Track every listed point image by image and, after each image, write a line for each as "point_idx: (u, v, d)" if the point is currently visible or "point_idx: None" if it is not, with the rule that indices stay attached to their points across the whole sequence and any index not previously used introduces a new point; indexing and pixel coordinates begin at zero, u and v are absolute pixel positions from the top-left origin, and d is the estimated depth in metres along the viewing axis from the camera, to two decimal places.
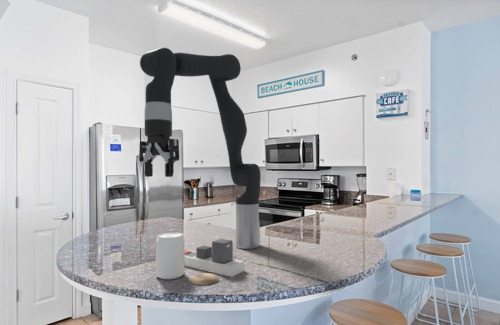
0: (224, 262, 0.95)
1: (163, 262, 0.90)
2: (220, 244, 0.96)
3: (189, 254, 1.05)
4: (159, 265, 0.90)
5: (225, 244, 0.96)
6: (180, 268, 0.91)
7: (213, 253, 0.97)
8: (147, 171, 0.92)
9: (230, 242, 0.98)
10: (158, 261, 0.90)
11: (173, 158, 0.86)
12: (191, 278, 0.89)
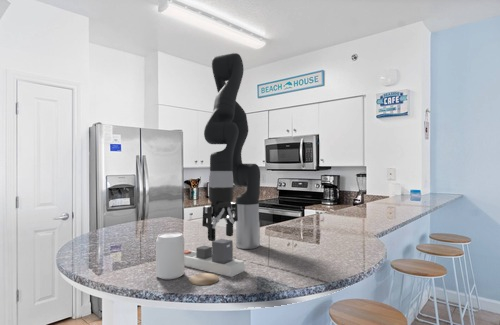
0: (224, 262, 0.95)
1: (163, 262, 0.90)
2: (220, 244, 0.96)
3: (189, 254, 1.05)
4: (159, 265, 0.90)
5: (225, 244, 0.96)
6: (180, 268, 0.91)
7: (213, 253, 0.97)
8: None
9: (230, 242, 0.98)
10: (158, 261, 0.90)
11: None
12: (191, 278, 0.89)
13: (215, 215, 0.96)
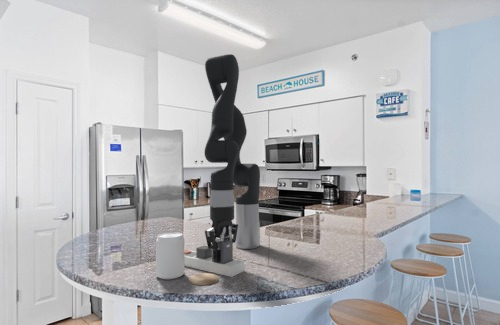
0: (224, 262, 0.95)
1: (163, 262, 0.90)
2: None
3: (189, 254, 1.05)
4: (159, 265, 0.90)
5: (225, 244, 0.96)
6: (180, 268, 0.91)
7: None
8: None
9: (230, 242, 0.98)
10: (158, 261, 0.90)
11: None
12: (191, 278, 0.89)
13: None
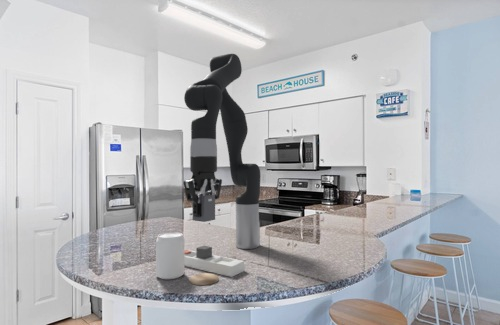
0: (205, 217, 0.87)
1: (163, 262, 0.90)
2: None
3: (189, 254, 1.05)
4: (159, 264, 0.90)
5: (206, 197, 0.88)
6: (180, 268, 0.91)
7: None
8: None
9: (212, 196, 0.90)
10: (158, 261, 0.90)
11: None
12: (191, 278, 0.89)
13: None
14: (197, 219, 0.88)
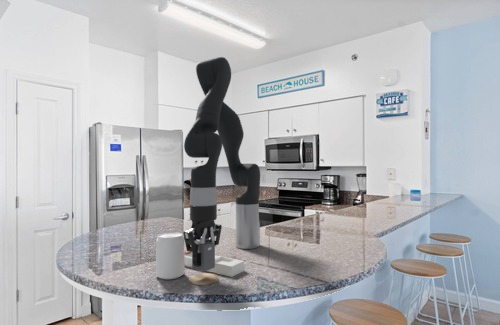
0: (205, 266, 0.87)
1: (163, 262, 0.90)
2: None
3: (189, 254, 1.05)
4: (159, 265, 0.90)
5: (206, 247, 0.87)
6: (180, 268, 0.91)
7: None
8: None
9: (212, 244, 0.89)
10: (158, 261, 0.90)
11: None
12: (191, 278, 0.89)
13: None
14: (197, 268, 0.88)
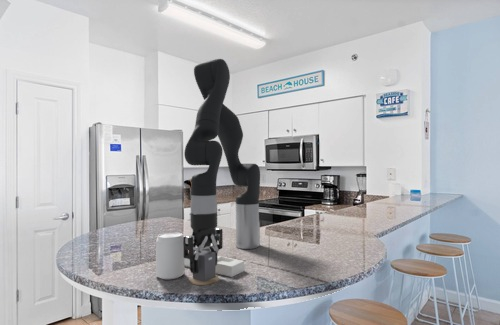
0: (205, 276, 0.87)
1: (163, 262, 0.90)
2: (201, 257, 0.87)
3: None
4: (159, 265, 0.90)
5: (207, 257, 0.87)
6: (180, 268, 0.91)
7: None
8: None
9: (212, 254, 0.89)
10: (158, 261, 0.90)
11: None
12: (191, 278, 0.89)
13: (197, 244, 0.87)
14: (197, 278, 0.88)
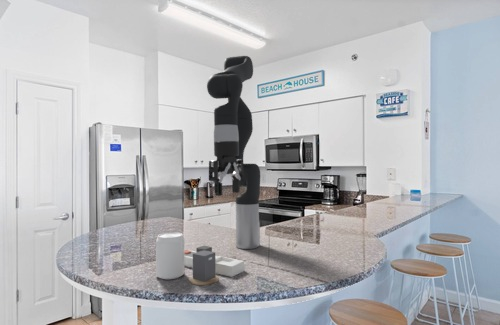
0: (205, 277, 0.87)
1: (163, 262, 0.90)
2: (201, 257, 0.87)
3: (189, 254, 1.05)
4: (159, 265, 0.90)
5: (207, 257, 0.87)
6: (180, 268, 0.91)
7: (194, 266, 0.89)
8: None
9: (212, 254, 0.89)
10: (158, 261, 0.90)
11: None
12: (191, 278, 0.89)
13: (221, 170, 0.94)
14: (197, 278, 0.88)
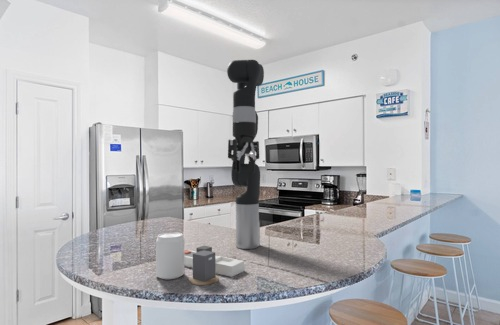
0: (205, 277, 0.87)
1: (163, 262, 0.90)
2: (201, 257, 0.87)
3: (189, 254, 1.05)
4: (159, 265, 0.90)
5: (207, 257, 0.87)
6: (180, 268, 0.91)
7: (194, 266, 0.89)
8: None
9: (212, 254, 0.89)
10: (158, 261, 0.90)
11: None
12: (191, 278, 0.89)
13: (239, 149, 0.99)
14: (197, 278, 0.88)
